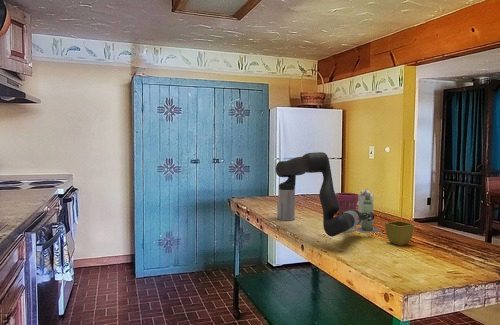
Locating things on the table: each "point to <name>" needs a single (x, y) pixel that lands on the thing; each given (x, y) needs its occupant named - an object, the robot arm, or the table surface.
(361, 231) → the mat
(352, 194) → the plant pot
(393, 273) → the table surface
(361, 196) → the milk carton
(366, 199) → the olive bottle
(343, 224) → the robot arm
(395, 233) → the flower pot
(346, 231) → the bowl
